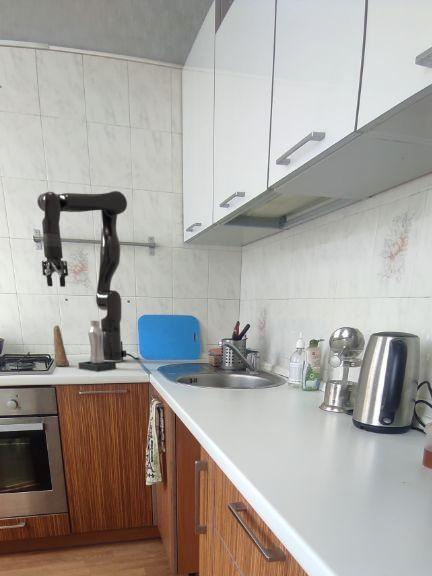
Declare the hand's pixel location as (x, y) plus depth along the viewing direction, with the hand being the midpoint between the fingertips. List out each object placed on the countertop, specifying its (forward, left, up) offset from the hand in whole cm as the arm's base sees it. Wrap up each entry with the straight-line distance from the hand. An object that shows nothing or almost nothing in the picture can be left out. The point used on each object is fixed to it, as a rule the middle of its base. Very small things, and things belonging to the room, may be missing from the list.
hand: (56, 286), depth 207 cm
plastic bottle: (-3, +20, -34) cm, 39 cm away
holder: (-3, +20, -34) cm, 40 cm away
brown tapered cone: (+2, +2, -24) cm, 25 cm away
